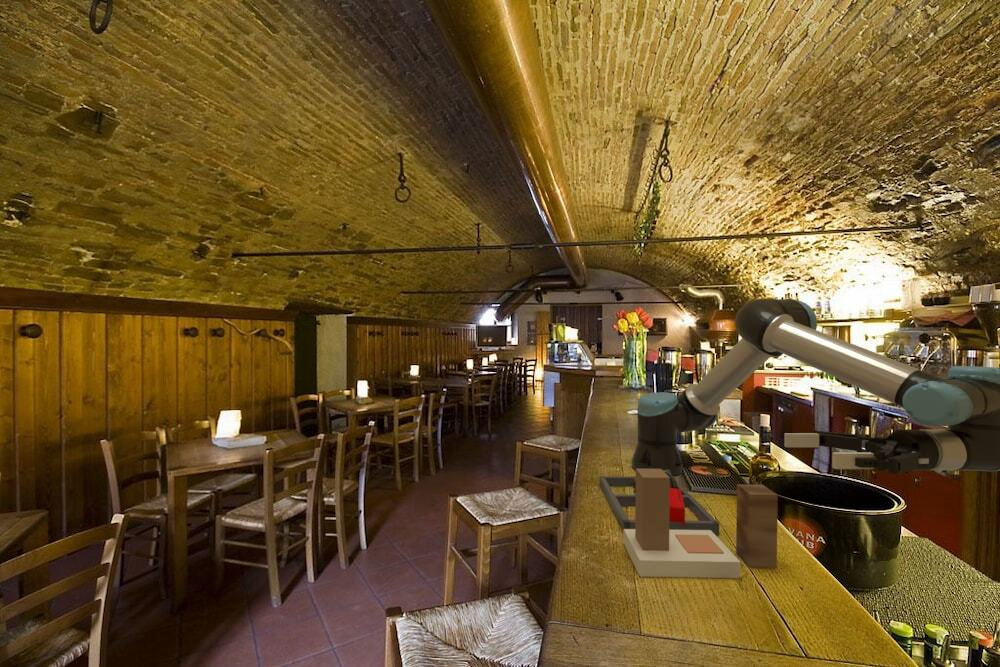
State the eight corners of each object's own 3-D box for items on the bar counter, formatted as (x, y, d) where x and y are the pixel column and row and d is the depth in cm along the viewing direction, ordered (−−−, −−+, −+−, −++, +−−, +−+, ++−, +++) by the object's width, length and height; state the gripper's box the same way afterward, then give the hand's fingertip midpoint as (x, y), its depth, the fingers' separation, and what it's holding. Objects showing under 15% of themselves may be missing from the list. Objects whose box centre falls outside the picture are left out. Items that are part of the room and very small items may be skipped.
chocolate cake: (623, 496, 117) (653, 474, 111) (629, 480, 123) (658, 458, 116) (650, 522, 116) (683, 501, 109) (656, 505, 121) (687, 484, 115)
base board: (623, 543, 91) (623, 462, 91) (710, 544, 91) (711, 463, 90) (639, 576, 79) (640, 484, 79) (740, 578, 79) (741, 485, 78)
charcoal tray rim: (599, 484, 124) (599, 475, 124) (672, 485, 123) (672, 476, 123) (624, 533, 96) (624, 522, 95) (719, 534, 95) (719, 523, 95)
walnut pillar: (736, 553, 87) (736, 484, 87) (761, 554, 87) (762, 484, 87) (749, 567, 82) (750, 494, 82) (776, 568, 82) (777, 494, 82)
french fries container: (640, 532, 98) (639, 502, 111) (684, 538, 95) (677, 507, 108) (640, 502, 97) (639, 476, 110) (685, 508, 94) (678, 480, 108)
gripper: (995, 495, 70) (859, 494, 71) (868, 450, 95) (769, 450, 95) (995, 448, 70) (859, 448, 70) (869, 416, 95) (769, 416, 95)
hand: (807, 449), depth 83 cm, fingers open, 13 cm apart
